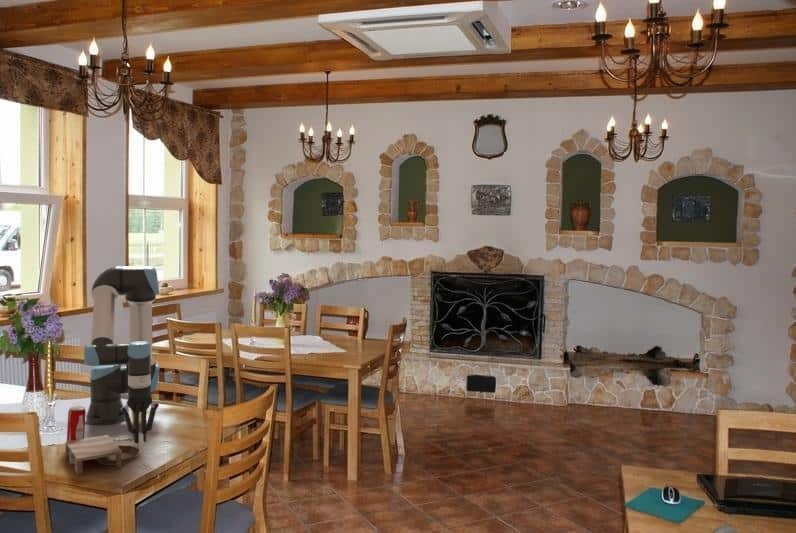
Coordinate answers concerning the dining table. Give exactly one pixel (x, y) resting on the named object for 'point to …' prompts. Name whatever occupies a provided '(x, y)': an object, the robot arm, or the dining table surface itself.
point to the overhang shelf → (91, 451)
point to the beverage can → (76, 423)
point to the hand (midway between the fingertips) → (140, 451)
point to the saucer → (126, 456)
